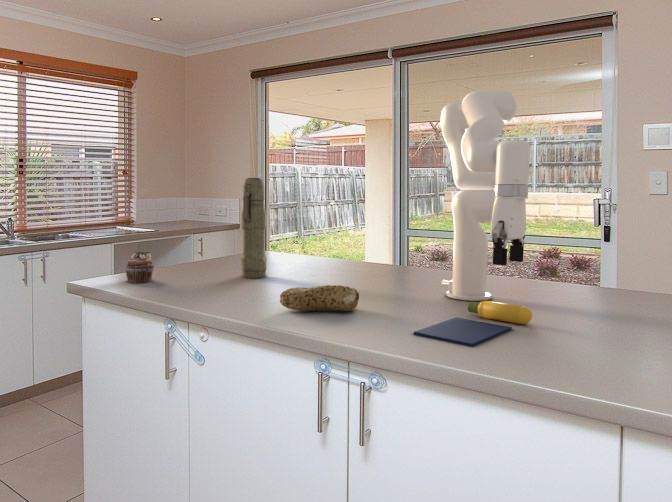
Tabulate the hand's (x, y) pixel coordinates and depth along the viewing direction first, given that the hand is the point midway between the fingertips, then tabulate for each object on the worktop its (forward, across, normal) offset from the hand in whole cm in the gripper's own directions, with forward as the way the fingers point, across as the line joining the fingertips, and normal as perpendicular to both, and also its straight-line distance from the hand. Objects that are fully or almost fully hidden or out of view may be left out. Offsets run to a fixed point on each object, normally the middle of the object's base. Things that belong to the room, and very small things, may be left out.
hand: (508, 263), depth 145 cm
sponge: (+14, +22, -41) cm, 49 cm away
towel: (+15, +17, -3) cm, 22 cm away
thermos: (+13, -4, -93) cm, 94 cm away
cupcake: (+14, +30, -114) cm, 119 cm away
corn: (+14, 0, -2) cm, 15 cm away
